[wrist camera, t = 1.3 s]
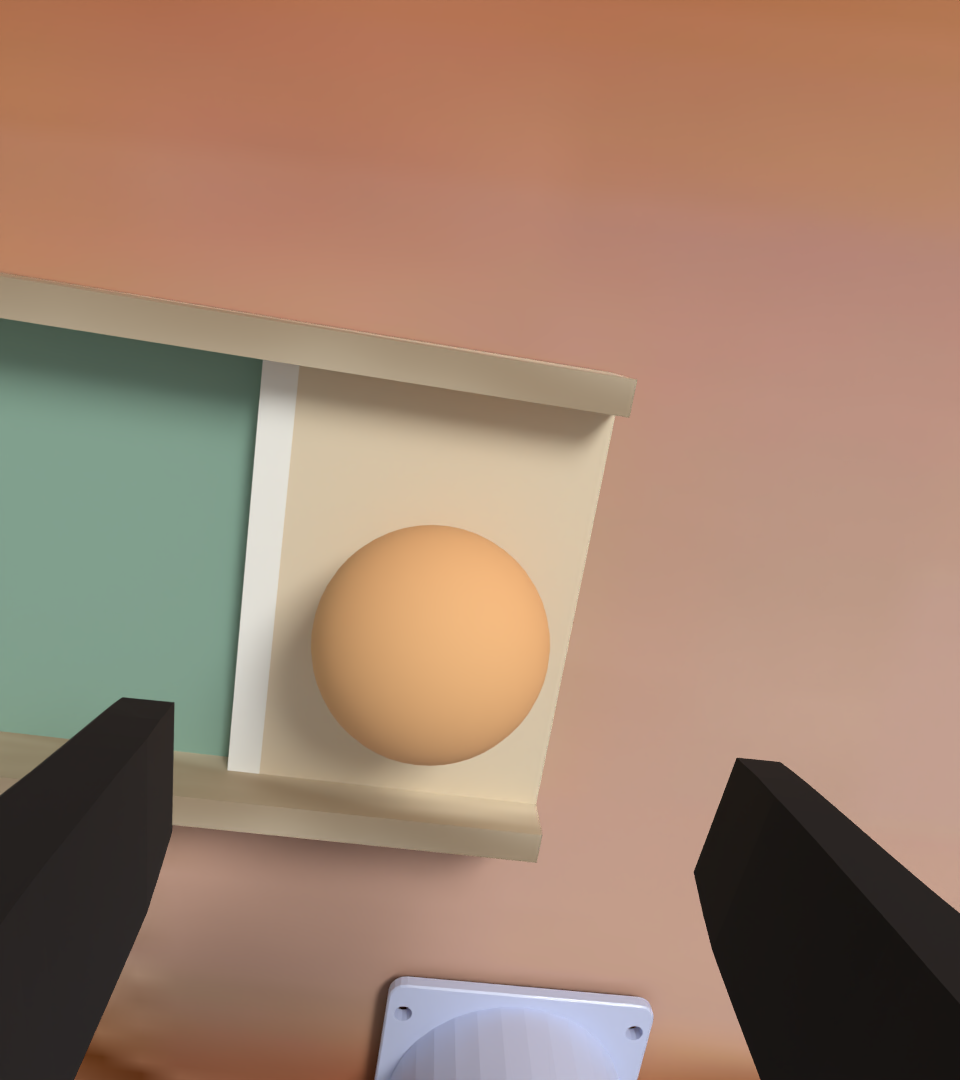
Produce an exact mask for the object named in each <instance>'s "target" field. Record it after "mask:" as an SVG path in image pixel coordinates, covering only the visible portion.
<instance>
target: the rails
mask: <svg viewBox="0 0 960 1080" xmlns="http://www.w3.org/2000/svg"><path fill="white" fill-rule="evenodd" d="M0 318H4V319H10V320H16V321H23V322H29V323H35V324H42V325H48V326H54V327H61V328H67V329H73V330H79V331H86V332H92V333H98V334H105V335H111V336H117V337H124V338H130V339H136V340H143V341H149V342H155V343H162V344H168V345H174V346H180V347H187V348H193V349H199V350H206V351H212V352H218V353H225V354H231V355H237V356H244V357H250V358H256V359H262V360H269V361H275V362H281V363H288V364H294V365H300V366H307V367H313V368H319V369H326V370H332V371H338V372H344V373H351V374H357V375H363V376H370V377H376V378H382V379H389V380H395V381H401V382H408V383H414V384H420V385H427V386H433V387H439V388H445V389H452V390H458V391H464V392H471V393H477V394H483V395H490V396H496V397H502V398H509V399H515V400H521V401H527V402H534V403H540V404H546V405H553V406H559V407H565V408H572V409H578V410H584V411H591V412H597V413H603V414H609V415H616V416H622V417H628V418H629V417H630V412H631V408H632V403H633V398H634V393H635V388H636V384H637V380H636V379H632V378H629V377H625V376H622V375H619V374H615V373H612V372H605V371H599V370H593V369H587V368H581V367H575V366H569V365H563V364H557V363H550V362H544V361H538V360H532V359H526V358H520V357H514V356H508V355H502V354H495V353H489V352H483V351H477V350H471V349H465V348H459V347H453V346H446V345H440V344H434V343H428V342H422V341H416V340H410V339H404V338H398V337H391V336H385V335H379V334H373V333H367V332H361V331H355V330H349V329H343V328H336V327H330V326H324V325H318V324H312V323H306V322H300V321H294V320H288V319H281V318H275V317H269V316H263V315H257V314H251V313H245V312H239V311H233V310H226V309H220V308H214V307H208V306H202V305H196V304H190V303H184V302H177V301H171V300H165V299H159V298H153V297H147V296H141V295H135V294H129V293H122V292H116V291H110V290H104V289H98V288H92V287H86V286H80V285H74V284H67V283H61V282H55V281H49V280H43V279H37V278H31V277H25V276H19V275H12V274H6V273H0ZM68 740H70V739H64V738H56V737H47V736H38V735H29V734H20V733H11V732H2V731H0V795H1V794H2V793H3V792H5V791H6V790H7V789H9V788H10V787H11V786H12V785H14V784H15V783H16V782H18V781H19V780H20V779H21V778H23V777H24V776H25V775H27V774H28V773H29V772H30V771H32V770H33V769H34V768H35V767H37V766H38V765H39V764H40V763H42V762H43V761H44V760H45V759H46V758H48V757H49V756H50V755H51V754H53V753H54V752H55V751H56V750H57V749H59V748H60V747H61V746H62V745H64V744H65V743H66V742H67V741H68ZM227 768H228V757H225V756H216V755H207V754H198V753H189V752H180V751H174V761H173V814H172V825H178V826H188V827H197V828H207V829H217V830H226V831H236V832H245V833H255V834H265V835H274V836H284V837H294V838H303V839H313V840H322V841H332V842H342V843H351V844H361V845H371V846H380V847H390V848H400V849H409V850H419V851H428V852H438V853H448V854H457V855H467V856H477V857H486V858H496V859H506V860H515V861H525V862H534V863H537V858H538V853H539V849H540V844H541V839H542V831H541V827H540V822H539V817H538V812H537V807H536V804H529V803H520V802H511V801H502V800H493V799H484V798H475V797H466V796H457V795H448V794H439V793H430V792H421V791H412V790H403V789H394V788H385V787H376V786H367V785H358V784H349V783H340V782H331V781H322V780H313V779H304V778H295V777H285V776H276V775H267V774H256V773H247V772H238V771H229V770H227Z"/></svg>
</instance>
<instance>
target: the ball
mask: <svg viewBox="0 0 960 1080" xmlns="http://www.w3.org/2000/svg"><path fill="white" fill-rule="evenodd" d="M549 654H550V633H549V627H548V621H547V615H546V612H545V609H544V605H543V602H542V600H541V598H540V595H539V593H538V591H537V589H536V587H535V585H534V584H533V582H532V581H531V579H530V578H529V576H528V574H527V573H526V571H525V570H524V569H523V568H522V567H521V566H520V564H519V563H518V562H517V561H516V560H515V559H514V558H513V557H512V556H511V555H509V554H508V553H507V552H506V551H505V550H503V549H502V548H500V547H499V546H498V545H496V544H495V543H493V542H492V541H490V540H488V539H486V538H484V537H482V536H480V535H478V534H476V533H473V532H470V531H467V530H464V529H460V528H455V527H450V526H441V525H420V526H413V527H408V528H403V529H399V530H396V531H393V532H390V533H387V534H385V535H383V536H381V537H379V538H377V539H375V540H373V541H371V542H370V543H368V544H367V545H365V546H363V547H362V548H360V549H359V550H358V551H357V552H355V553H354V554H353V555H352V556H351V557H349V558H348V559H347V560H346V562H345V563H344V564H343V565H342V566H341V567H340V568H339V569H338V571H337V572H336V573H335V575H334V576H333V578H332V579H331V581H330V582H329V584H328V585H327V587H326V589H325V591H324V593H323V595H322V597H321V599H320V602H319V604H318V607H317V610H316V613H315V618H314V623H313V628H312V634H311V655H312V664H313V671H314V675H315V679H316V683H317V686H318V688H319V691H320V693H321V696H322V698H323V700H324V702H325V703H326V705H327V707H328V709H329V710H330V712H331V714H332V715H333V717H334V718H335V719H336V720H337V722H338V723H339V724H340V726H341V727H342V728H343V729H344V730H346V731H347V732H348V733H349V734H350V735H351V736H352V737H353V738H354V739H356V740H357V741H358V742H360V743H361V744H362V745H363V746H365V747H366V748H368V749H370V750H372V751H373V752H375V753H377V754H379V755H381V756H384V757H386V758H388V759H391V760H395V761H398V762H402V763H407V764H413V765H424V766H436V765H447V764H452V763H458V762H461V761H464V760H468V759H471V758H473V757H475V756H478V755H480V754H482V753H484V752H486V751H488V750H489V749H491V748H493V747H494V746H496V745H497V744H499V743H500V742H501V741H502V740H504V739H505V738H506V737H508V736H509V735H510V734H511V733H512V732H513V731H514V730H515V729H516V728H517V727H518V726H519V725H520V724H521V723H522V721H523V720H524V719H525V718H526V716H527V715H528V714H529V712H530V710H531V709H532V707H533V705H534V703H535V702H536V700H537V698H538V696H539V694H540V691H541V689H542V686H543V684H544V681H545V677H546V673H547V669H548V662H549Z"/></svg>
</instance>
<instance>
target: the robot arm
mask: <svg viewBox="0 0 960 1080" xmlns="http://www.w3.org/2000/svg"><path fill="white" fill-rule="evenodd" d="M174 708H175V702H167V701H156V700H146V699H136V698H126V697H122V698H120V699H119V700H118V701H116V702H115V703H113V704H112V705H111V706H110V707H108V708H107V709H106V710H105V711H103V712H102V713H101V714H100V715H98V716H97V717H96V718H95V719H94V720H92V721H91V722H90V723H89V724H88V725H86V726H85V727H84V728H83V729H82V730H80V731H79V732H78V733H77V734H76V735H74V736H73V737H72V738H71V739H70V740H68V741H67V742H66V743H65V744H64V745H62V746H61V747H60V748H59V749H57V750H56V751H55V752H54V753H53V754H51V755H50V756H49V757H48V758H46V759H45V760H44V761H43V762H42V763H40V764H39V765H38V766H37V767H35V768H34V769H33V770H32V771H30V772H29V773H28V774H27V775H25V776H24V777H23V778H21V779H20V780H19V781H18V782H16V783H15V784H14V785H12V786H11V787H10V788H9V789H7V790H6V791H5V792H3V793H2V794H1V795H0V1080H74V1079H75V1076H76V1074H77V1072H78V1069H79V1067H80V1065H81V1063H82V1060H83V1058H84V1056H85V1054H86V1051H87V1049H88V1047H89V1044H90V1042H91V1040H92V1038H93V1035H94V1033H95V1031H96V1029H97V1026H98V1024H99V1022H100V1019H101V1017H102V1015H103V1013H104V1010H105V1008H106V1006H107V1004H108V1001H109V999H110V997H111V994H112V992H113V990H114V988H115V985H116V983H117V981H118V979H119V976H120V974H121V972H122V969H123V967H124V965H125V962H126V960H127V958H128V956H129V953H130V951H131V949H132V946H133V944H134V942H135V939H136V937H137V935H138V932H139V930H140V928H141V925H142V923H143V921H144V918H145V916H146V914H147V911H148V908H149V905H150V901H151V898H152V895H153V892H154V889H155V886H156V883H157V880H158V876H159V873H160V870H161V867H162V863H163V860H164V857H165V853H166V850H167V847H168V843H169V840H170V837H171V833H172V814H173V761H174ZM694 875H695V880H696V884H697V889H698V893H699V898H700V902H701V907H702V911H703V916H704V920H705V923H706V927H707V931H708V935H709V939H710V943H711V947H712V950H713V953H714V956H715V959H716V962H717V965H718V967H719V970H720V973H721V976H722V978H723V981H724V984H725V986H726V989H727V992H728V994H729V997H730V1000H731V1003H732V1005H733V1008H734V1011H735V1013H736V1016H737V1019H738V1021H739V1024H740V1027H741V1029H742V1032H743V1035H744V1037H745V1040H746V1042H747V1045H748V1048H749V1050H750V1053H751V1056H752V1058H753V1061H754V1063H755V1066H756V1069H757V1071H758V1074H759V1077H760V1079H761V1080H960V913H959V912H957V911H956V910H955V909H954V908H953V907H951V906H950V905H949V904H948V903H946V902H945V901H944V900H943V899H942V898H940V897H939V896H938V895H937V894H936V893H934V892H933V891H932V890H931V889H930V888H928V887H927V886H926V885H925V884H924V883H923V882H921V881H920V880H919V879H918V878H917V877H915V876H914V875H913V874H912V873H911V872H910V871H908V870H907V869H906V868H905V867H904V866H903V865H901V864H900V863H899V862H898V861H897V860H896V859H894V858H893V857H892V856H891V855H890V854H889V853H887V852H886V851H885V850H884V849H883V848H882V847H881V846H879V845H878V844H877V843H876V842H875V841H874V840H872V839H871V838H870V837H869V836H868V835H867V834H866V833H864V832H863V831H862V830H861V829H860V828H859V827H858V826H856V825H855V824H854V823H853V822H852V821H851V820H849V819H848V818H847V817H846V816H845V815H844V814H843V813H841V812H840V811H839V810H838V809H837V808H836V807H835V806H833V805H832V804H831V803H830V802H829V801H828V800H826V799H825V798H824V797H823V796H822V795H820V794H819V793H818V792H817V791H816V790H815V789H813V788H812V787H811V786H810V785H809V784H807V783H806V782H805V781H804V780H803V779H801V778H800V777H799V776H798V775H796V774H795V773H794V772H792V771H791V770H790V769H789V768H787V767H786V766H785V765H783V764H782V763H781V762H774V761H764V760H754V759H744V758H737V759H736V761H735V764H734V767H733V769H732V772H731V775H730V777H729V780H728V783H727V785H726V788H725V791H724V793H723V796H722V799H721V801H720V804H719V806H718V809H717V812H716V814H715V817H714V820H713V822H712V825H711V828H710V830H709V833H708V836H707V838H706V841H705V844H704V846H703V849H702V852H701V854H700V857H699V860H698V862H697V865H696V868H695V870H694ZM402 1006H405V1007H408V1009H399V1008H398V1007H402ZM652 1023H653V1012H652V1009H651V1006H650V1004H649V1002H648V1001H647V1000H645V999H644V998H641V997H634V996H623V995H612V994H600V993H589V992H578V991H567V990H555V989H544V988H533V987H522V986H510V985H499V984H488V983H477V982H465V981H454V980H443V979H432V978H420V977H409V976H407V977H400V978H397V979H395V980H394V981H393V982H392V983H391V985H390V987H389V991H388V997H387V1004H386V1010H385V1016H384V1022H383V1029H382V1035H381V1041H380V1047H379V1054H378V1060H377V1066H376V1073H375V1079H374V1080H637V1078H638V1075H639V1071H640V1067H641V1064H642V1060H643V1056H644V1052H645V1049H646V1045H647V1041H648V1038H649V1034H650V1030H651V1026H652ZM632 1026H636V1027H635V1028H631V1029H628V1028H630V1027H632Z"/></svg>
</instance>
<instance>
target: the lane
mask: <svg viewBox="0 0 960 1080" xmlns="http://www.w3.org/2000/svg"><path fill="white" fill-rule="evenodd" d="M614 419H615V415H609V414H603V413H597V412H591V411H584V410H578V409H572V408H565V407H559V406H553V405H546V404H540V403H534V402H527V401H521V400H515V399H509V398H502V397H496V396H490V395H483V394H477V393H471V392H464V391H458V390H452V389H445V388H439V387H433V386H427V385H420V384H414V383H408V382H401V381H395V380H389V379H382V378H376V377H370V376H363V375H357V374H351V373H344V372H338V371H332V370H326V369H319V368H313V367H307V366H300V365H294V364H288V363H281V362H275V361H269V360H262V359H256V358H250V357H244V356H237V355H231V354H225V353H218V352H212V351H206V350H199V349H193V348H187V347H180V346H174V345H168V344H162V343H155V342H149V341H143V340H136V339H130V338H124V337H117V336H111V335H105V334H98V333H92V332H86V331H79V330H73V329H67V328H61V327H54V326H48V325H42V324H35V323H29V322H23V321H16V320H10V319H4V318H0V731H2V732H11V733H20V734H29V735H38V736H47V737H56V738H64V739H71V738H72V737H73V736H74V735H76V734H77V733H78V732H79V731H80V730H82V729H83V728H84V727H85V726H86V725H88V724H89V723H90V722H91V721H92V720H94V719H95V718H96V717H97V716H98V715H100V714H101V713H102V712H103V711H105V710H106V709H107V708H108V707H110V706H111V705H112V704H113V703H115V702H116V701H118V700H119V699H120V698H122V697H126V698H136V699H146V700H156V701H167V702H175V708H174V751H180V752H189V753H198V754H207V755H216V756H225V757H228V768H227V770H229V771H238V772H247V773H256V774H267V775H276V776H285V777H295V778H304V779H313V780H322V781H331V782H340V783H349V784H358V785H367V786H376V787H385V788H394V789H403V790H412V791H421V792H430V793H439V794H448V795H457V796H466V797H475V798H484V799H493V800H502V801H511V802H520V803H529V804H536V802H537V797H538V792H539V787H540V782H541V777H542V772H543V767H544V762H545V757H546V753H547V748H548V743H549V738H550V733H551V728H552V723H553V718H554V713H555V708H556V704H557V699H558V694H559V689H560V684H561V679H562V674H563V669H564V664H565V659H566V654H567V650H568V645H569V640H570V635H571V630H572V625H573V620H574V615H575V610H576V605H577V600H578V596H579V591H580V586H581V581H582V576H583V571H584V566H585V561H586V556H587V551H588V546H589V542H590V537H591V532H592V527H593V522H594V517H595V512H596V507H597V502H598V497H599V492H600V488H601V483H602V478H603V473H604V468H605V463H606V458H607V453H608V448H609V443H610V439H611V434H612V429H613V424H614ZM420 525H441V526H450V527H455V528H460V529H464V530H467V531H470V532H473V533H476V534H478V535H480V536H482V537H484V538H486V539H488V540H490V541H492V542H493V543H495V544H496V545H498V546H499V547H500V548H502V549H503V550H505V551H506V552H507V553H508V554H509V555H511V556H512V557H513V558H514V559H515V560H516V561H517V562H518V563H519V564H520V566H521V567H522V568H523V569H524V570H525V571H526V573H527V574H528V576H529V578H530V579H531V581H532V582H533V584H534V585H535V587H536V589H537V591H538V593H539V595H540V598H541V600H542V602H543V605H544V609H545V612H546V615H547V621H548V627H549V633H550V654H549V662H548V669H547V673H546V677H545V681H544V684H543V686H542V689H541V691H540V694H539V696H538V698H537V700H536V702H535V703H534V705H533V707H532V709H531V710H530V712H529V714H528V715H527V716H526V718H525V719H524V720H523V721H522V723H521V724H520V725H519V726H518V727H517V728H516V729H515V730H514V731H513V732H512V733H511V734H510V735H509V736H508V737H506V738H505V739H504V740H502V741H501V742H500V743H499V744H497V745H496V746H494V747H493V748H491V749H489V750H488V751H486V752H484V753H482V754H480V755H478V756H475V757H473V758H471V759H468V760H464V761H461V762H458V763H452V764H447V765H436V766H424V765H413V764H407V763H402V762H398V761H395V760H391V759H388V758H386V757H384V756H381V755H379V754H377V753H375V752H373V751H372V750H370V749H368V748H366V747H365V746H363V745H362V744H361V743H360V742H358V741H357V740H356V739H354V738H353V737H352V736H351V735H350V734H349V733H348V732H347V731H346V730H344V729H343V728H342V727H341V726H340V724H339V723H338V722H337V720H336V719H335V718H334V717H333V715H332V714H331V712H330V710H329V709H328V707H327V705H326V703H325V702H324V700H323V698H322V696H321V693H320V691H319V688H318V686H317V683H316V679H315V675H314V671H313V664H312V655H311V634H312V628H313V623H314V618H315V613H316V610H317V607H318V604H319V602H320V599H321V597H322V595H323V593H324V591H325V589H326V587H327V585H328V584H329V582H330V581H331V579H332V578H333V576H334V575H335V573H336V572H337V571H338V569H339V568H340V567H341V566H342V565H343V564H344V563H345V562H346V560H347V559H348V558H349V557H351V556H352V555H353V554H354V553H355V552H357V551H358V550H359V549H360V548H362V547H363V546H365V545H367V544H368V543H370V542H371V541H373V540H375V539H377V538H379V537H381V536H383V535H385V534H387V533H390V532H393V531H396V530H399V529H403V528H408V527H413V526H420Z"/></svg>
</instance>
